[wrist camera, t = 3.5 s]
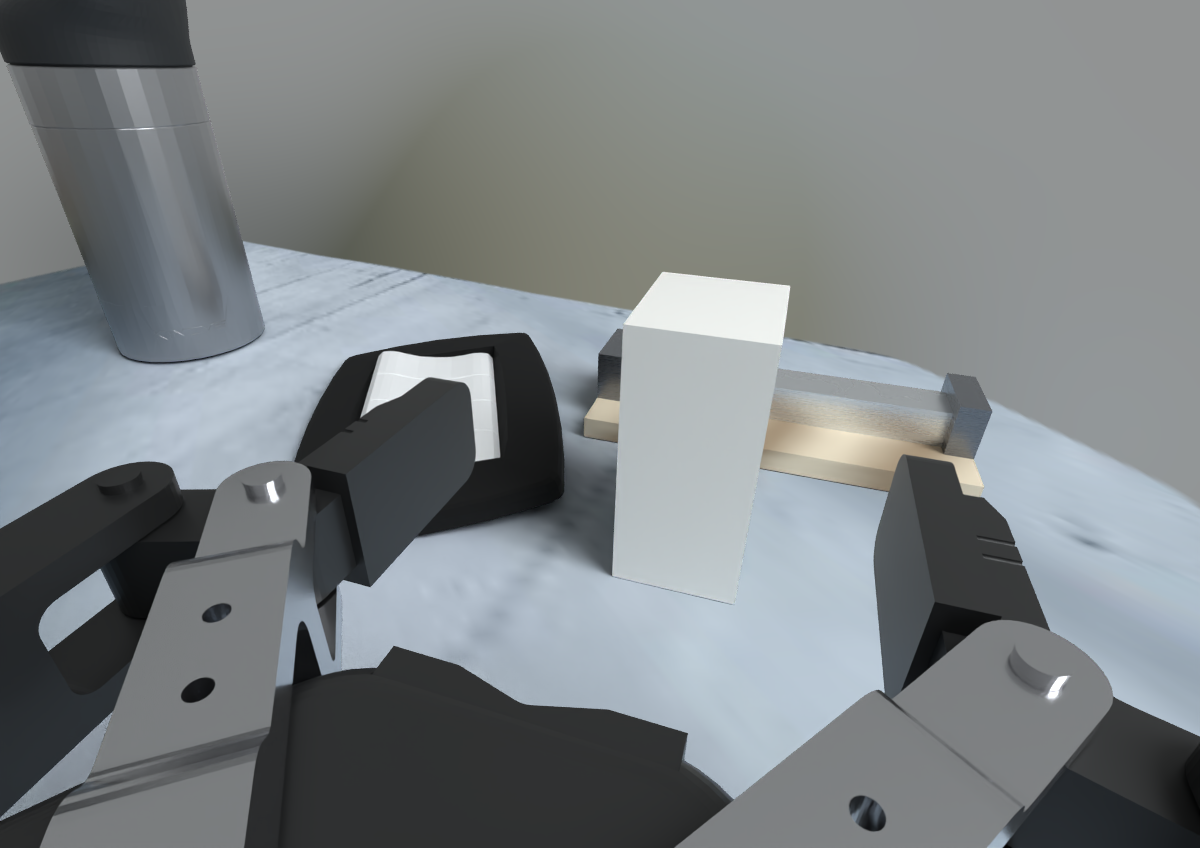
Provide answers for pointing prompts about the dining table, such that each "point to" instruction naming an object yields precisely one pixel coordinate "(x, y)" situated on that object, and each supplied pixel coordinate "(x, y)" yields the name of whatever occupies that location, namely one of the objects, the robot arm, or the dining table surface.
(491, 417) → the light switch
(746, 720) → the dining table surface
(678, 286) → the block
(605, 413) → the mounting board
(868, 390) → the rail
